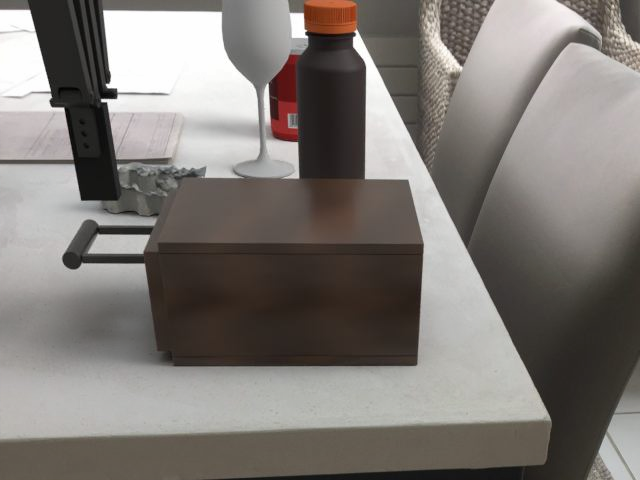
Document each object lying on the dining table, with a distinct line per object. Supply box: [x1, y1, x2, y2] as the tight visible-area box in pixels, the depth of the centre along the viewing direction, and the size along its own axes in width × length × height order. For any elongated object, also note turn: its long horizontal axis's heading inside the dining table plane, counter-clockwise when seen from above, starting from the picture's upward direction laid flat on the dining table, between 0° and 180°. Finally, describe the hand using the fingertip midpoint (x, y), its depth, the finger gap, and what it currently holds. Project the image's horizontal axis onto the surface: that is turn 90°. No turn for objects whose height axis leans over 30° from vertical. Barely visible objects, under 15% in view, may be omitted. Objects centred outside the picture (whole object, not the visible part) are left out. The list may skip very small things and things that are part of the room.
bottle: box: [296, 0, 367, 179], centre depth 88 cm, size 7×7×20 cm
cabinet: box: [157, 177, 425, 367], centre depth 71 cm, size 19×15×10 cm
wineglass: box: [221, 0, 295, 178], centre depth 101 cm, size 8×8×21 cm
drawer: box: [61, 191, 178, 352], centre depth 71 cm, size 24×13×8 cm, turn 93°
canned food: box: [267, 37, 308, 142], centre depth 117 cm, size 8×8×11 cm
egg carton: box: [100, 161, 208, 217], centre depth 95 cm, size 11×8×4 cm
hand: (101, 197), depth 67 cm, fingers closed
